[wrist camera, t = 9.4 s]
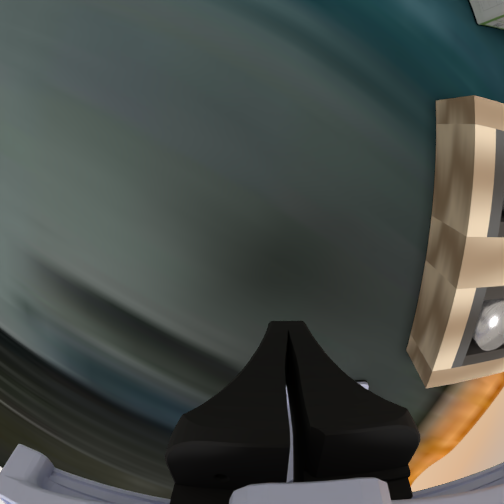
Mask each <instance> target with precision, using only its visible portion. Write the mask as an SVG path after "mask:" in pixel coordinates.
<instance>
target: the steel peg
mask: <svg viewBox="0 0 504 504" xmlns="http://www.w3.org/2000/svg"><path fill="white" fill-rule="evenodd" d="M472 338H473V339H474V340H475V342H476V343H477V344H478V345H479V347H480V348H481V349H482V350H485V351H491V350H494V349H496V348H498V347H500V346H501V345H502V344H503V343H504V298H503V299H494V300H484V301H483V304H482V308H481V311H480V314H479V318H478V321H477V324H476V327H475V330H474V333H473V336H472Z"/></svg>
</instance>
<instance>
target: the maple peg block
mask: <svg viewBox="0 0 504 504" xmlns="http://www.w3.org/2000/svg"><path fill="white" fill-rule="evenodd" d="M503 196H504V104H503V103H500V102H496V101H493V100H489V99H486V98H482V97H478V96H475V95H474V96H465V97H458V98H451V99H444V100H437V101H436V163H435V181H434V195H433V206H432V216H431V225H430V233H429V241H428V248H427V255H426V261H425V267H424V273H423V278H422V284H421V289H420V294H419V299H418V304H417V308H416V313H415V317H414V322H413V326H412V330H411V334H410V338H409V342H408V346H407V349H406V351H407V353H408V354H409V356H410V358H411V360H412V362H413V364H414V366H415V368H416V370H417V372H418V374H419V376H420V378H421V380H422V381H423V383H424V385H425V387H426V388H431V387H437V386H442V385H448V384H453V383H458V382H463V381H467V380H472V379H476V378H481V377H485V376H489V375H493V374H497V373H501V372H504V343H503V344H502V345H501V346H500V347H498V348H496V349H494V350H491V351H485V350H482V349H481V348H480V347H479V345H478V344H477V343H476V342H475V340H474V339H473V338H472V336H473V333H474V330H475V327H476V324H477V321H478V318H479V314H480V311H481V308H482V304H483V301H484V300H494V299H503V298H504V211H503V210H502V205H503Z"/></svg>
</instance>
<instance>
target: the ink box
mask: <svg viewBox="0 0 504 504" xmlns="http://www.w3.org/2000/svg"><path fill="white" fill-rule="evenodd" d="M469 1H470V3H471V6H472V9H473V12H474V15H475V18H476V21H477V23H478V24H479V25H485V26H490V27H495V28H499V29H503V30H504V0H469Z"/></svg>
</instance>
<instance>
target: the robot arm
mask: <svg viewBox="0 0 504 504" xmlns="http://www.w3.org/2000/svg"><path fill="white" fill-rule="evenodd" d="M368 388H369V385H368V383H367V382H355V381H354V380H353V379H351V378H350V377H349V376H348V375H346V374H345V373H344V372H343V371H342V370H341V369H340V368H339V367H338V366H337V365H336V364H335V363H334V362H333V361H332V360H331V359H330V358H329V357H328V355H327V354H326V353H325V352H324V351H323V349H322V348H321V347H320V345H319V344H318V343H317V341H316V340H315V339H314V337H313V336H312V334H311V333H310V331H309V329H308V328H307V326H306V324H305V323H304V322H303V321H271V322H270V323H269V324H268V328H267V331H266V334H265V336H264V338H263V340H262V342H261V343H260V345H259V347H258V349H257V350H256V352H255V354H254V355H253V356H252V358H251V359H250V361H249V362H248V363H247V365H246V366H245V367H244V369H243V370H242V371H241V372H240V373H239V374H238V375H237V376H236V377H235V378H234V379H233V380H232V381H231V382H230V383H229V384H228V385H227V386H226V387H225V388H224V389H223V390H221V391H220V392H219V393H218V394H216V395H215V396H214V397H212V398H211V399H209V400H208V401H207V402H205V403H204V404H202V405H200V406H199V407H197V408H195V409H193V410H191V411H189V412H188V413H185V414H183V415H182V416H181V418H180V420H179V421H178V423H177V425H176V427H175V429H174V431H173V433H172V435H171V437H170V440H169V443H168V447H167V450H166V454H165V460H166V464H167V466H168V469H169V471H170V473H171V475H172V478H173V480H174V482H175V485H174V488H173V492H172V496H171V499H165V498H160V497H155V496H150V495H145V494H140V493H136V492H132V491H128V490H123V489H120V488H116V487H112V486H108V485H105V484H101V483H98V482H95V481H92V480H88V479H85V478H82V477H79V476H76V475H73V474H71V473H68V472H65V471H62V470H60V469H57V468H54V466H53V464H52V462H51V461H50V460H49V459H48V458H47V457H46V456H45V455H44V454H42V453H40V452H38V451H36V450H33V449H31V448H29V447H26V446H24V445H22V444H18V445H17V447H16V449H15V450H14V452H13V453H12V455H11V456H10V458H9V459H8V461H7V463H6V464H5V466H4V467H3V469H2V471H1V472H0V499H1V500H2V501H3V502H4V503H5V504H504V462H503V463H501V464H499V465H496V466H494V467H491V468H489V469H486V470H484V471H481V472H478V473H476V474H473V475H470V476H467V477H464V478H461V479H458V480H455V481H452V482H449V483H445V484H442V485H438V486H435V487H432V488H428V489H424V490H420V491H416V492H412V491H411V487H410V484H409V480H408V477H409V476H410V469H409V466H408V463H409V462H410V460H411V458H412V456H413V455H414V453H415V451H416V449H417V448H418V445H419V442H420V434H419V431H418V429H417V426H416V424H415V422H414V420H413V418H412V416H411V415H410V413H409V411H408V409H406V408H404V407H401V406H399V405H397V404H394V403H392V402H389V401H387V400H385V399H383V398H381V397H379V396H378V395H376V394H374V393H372V392H370V391H369V390H368Z"/></svg>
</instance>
